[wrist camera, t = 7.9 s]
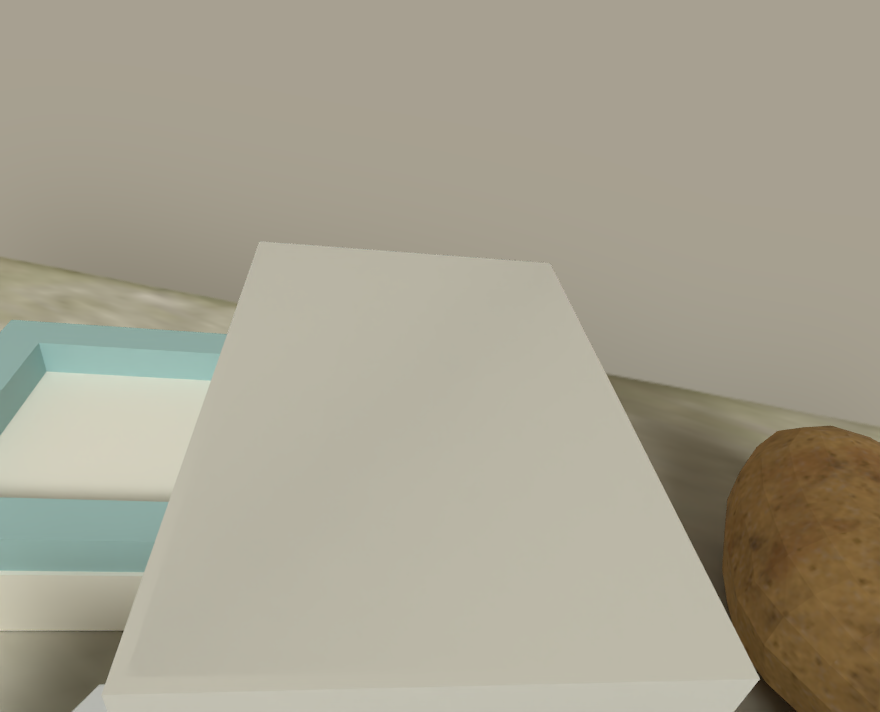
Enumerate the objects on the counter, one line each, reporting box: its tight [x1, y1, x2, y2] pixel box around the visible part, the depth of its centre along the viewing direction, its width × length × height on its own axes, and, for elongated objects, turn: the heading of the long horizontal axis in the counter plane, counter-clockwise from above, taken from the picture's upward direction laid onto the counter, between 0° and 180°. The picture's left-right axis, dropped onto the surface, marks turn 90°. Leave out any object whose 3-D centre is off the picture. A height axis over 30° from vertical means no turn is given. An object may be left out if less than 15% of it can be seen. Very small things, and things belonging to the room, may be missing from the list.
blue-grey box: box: [102, 241, 760, 712], centre depth 10 cm, size 4×6×11 cm
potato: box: [722, 426, 880, 712], centre depth 21 cm, size 10×14×8 cm
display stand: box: [0, 320, 227, 631], centre depth 25 cm, size 12×12×4 cm
